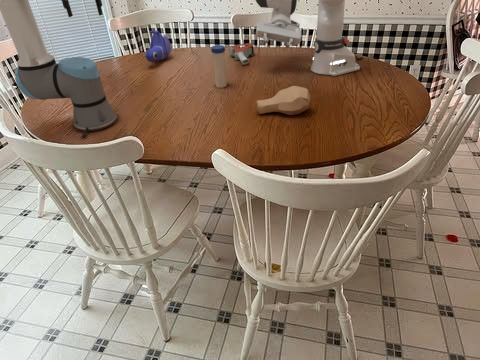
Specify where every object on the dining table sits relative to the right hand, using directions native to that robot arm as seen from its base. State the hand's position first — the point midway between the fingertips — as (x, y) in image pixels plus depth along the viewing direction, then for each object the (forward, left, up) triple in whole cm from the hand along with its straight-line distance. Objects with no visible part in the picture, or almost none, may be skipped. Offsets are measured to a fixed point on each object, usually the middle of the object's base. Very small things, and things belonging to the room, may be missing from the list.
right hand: (277, 44), depth 154 cm
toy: (+50, -45, -14) cm, 69 cm away
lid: (+26, +1, +2) cm, 26 cm away
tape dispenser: (+8, -32, -14) cm, 36 cm away
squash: (+11, +36, -14) cm, 40 cm away
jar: (+26, +1, -14) cm, 30 cm away
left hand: (+78, -33, +14) cm, 86 cm away
